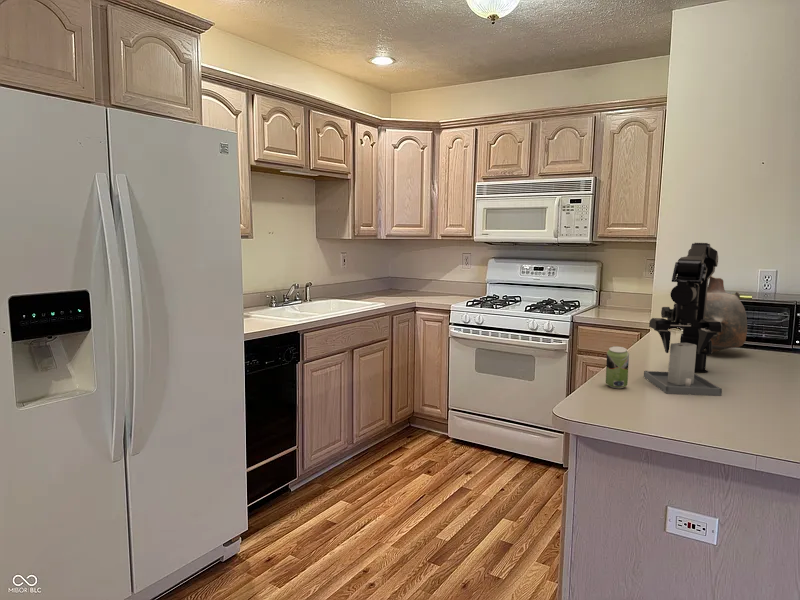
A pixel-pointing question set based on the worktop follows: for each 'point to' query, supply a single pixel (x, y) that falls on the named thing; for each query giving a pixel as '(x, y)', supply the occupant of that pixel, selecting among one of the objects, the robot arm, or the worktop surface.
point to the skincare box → (681, 363)
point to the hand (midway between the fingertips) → (682, 353)
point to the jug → (725, 316)
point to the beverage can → (617, 367)
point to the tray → (697, 388)
